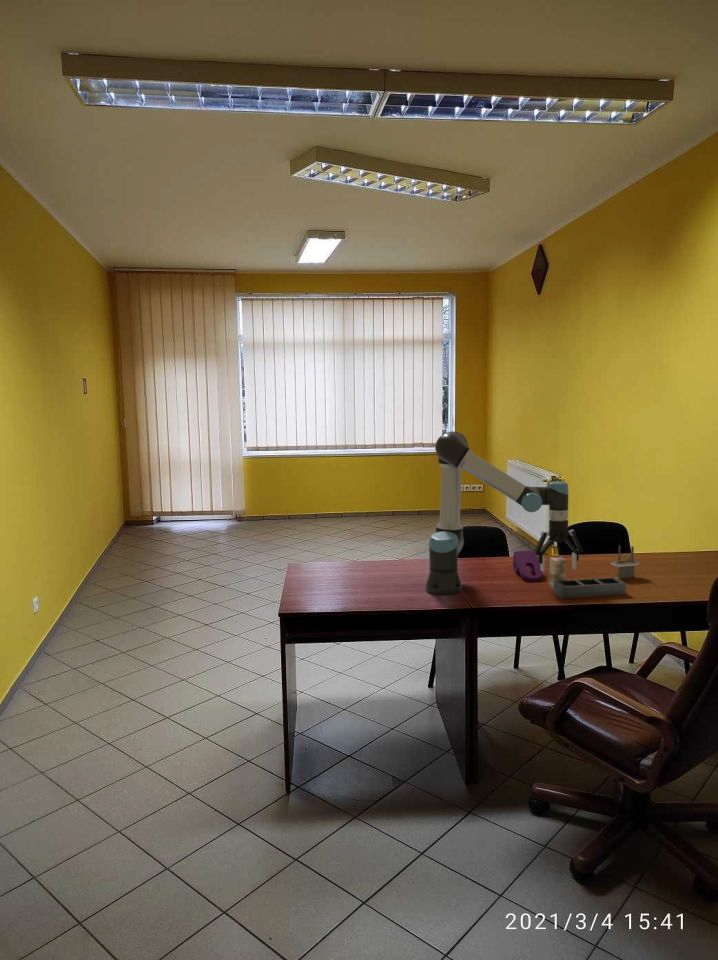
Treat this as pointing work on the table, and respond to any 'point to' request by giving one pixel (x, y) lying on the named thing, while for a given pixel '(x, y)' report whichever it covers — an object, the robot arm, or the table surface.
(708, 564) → the table surface
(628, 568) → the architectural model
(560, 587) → the dark grey long frame
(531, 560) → the mounting bracket
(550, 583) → the peg
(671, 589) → the table surface
